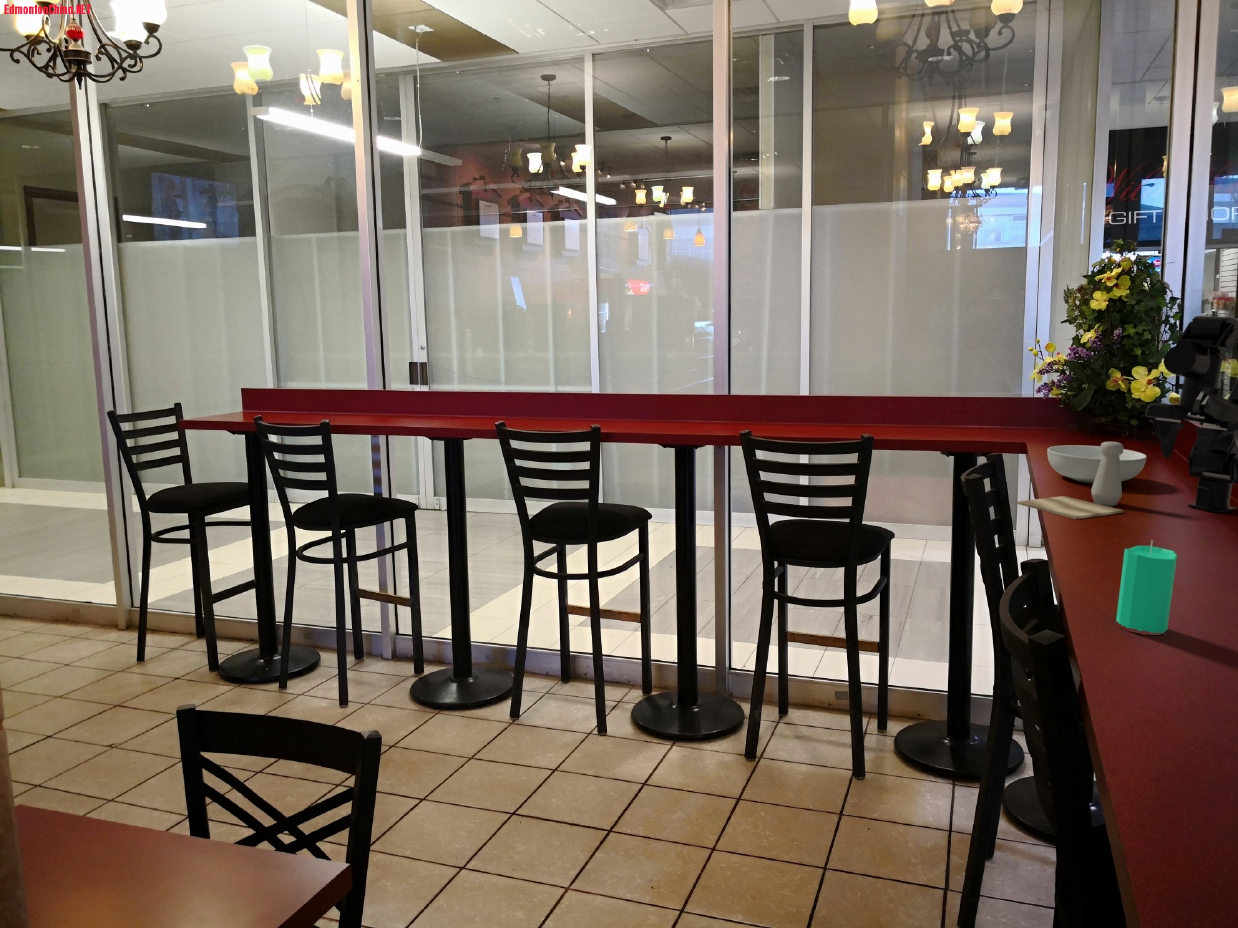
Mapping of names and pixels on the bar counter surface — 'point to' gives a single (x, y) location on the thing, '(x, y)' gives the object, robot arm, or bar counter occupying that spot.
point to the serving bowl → (1091, 462)
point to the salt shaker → (1108, 475)
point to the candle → (1146, 588)
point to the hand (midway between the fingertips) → (1184, 460)
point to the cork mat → (1070, 507)
